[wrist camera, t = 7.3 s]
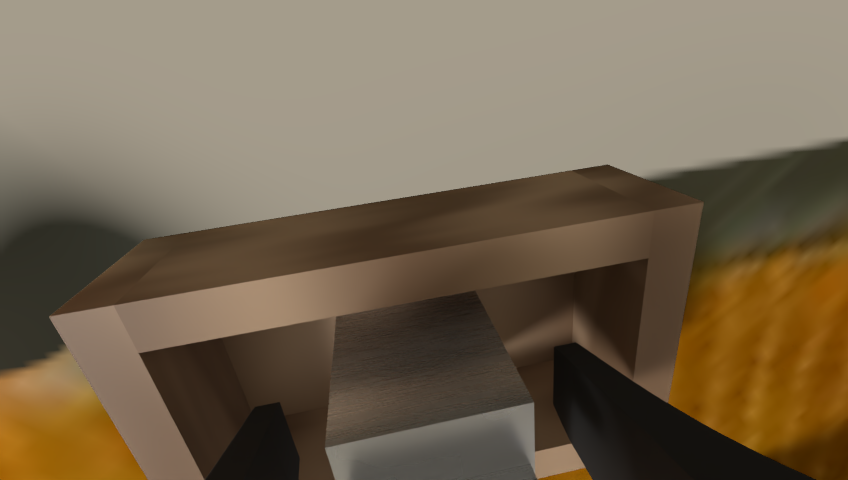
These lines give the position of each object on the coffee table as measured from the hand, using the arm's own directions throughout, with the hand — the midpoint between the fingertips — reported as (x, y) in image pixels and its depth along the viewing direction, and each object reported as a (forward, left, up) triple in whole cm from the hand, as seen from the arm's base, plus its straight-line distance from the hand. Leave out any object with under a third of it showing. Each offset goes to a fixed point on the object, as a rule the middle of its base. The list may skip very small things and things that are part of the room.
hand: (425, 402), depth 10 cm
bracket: (0, 0, -4) cm, 4 cm away
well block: (0, 0, -4) cm, 4 cm away
